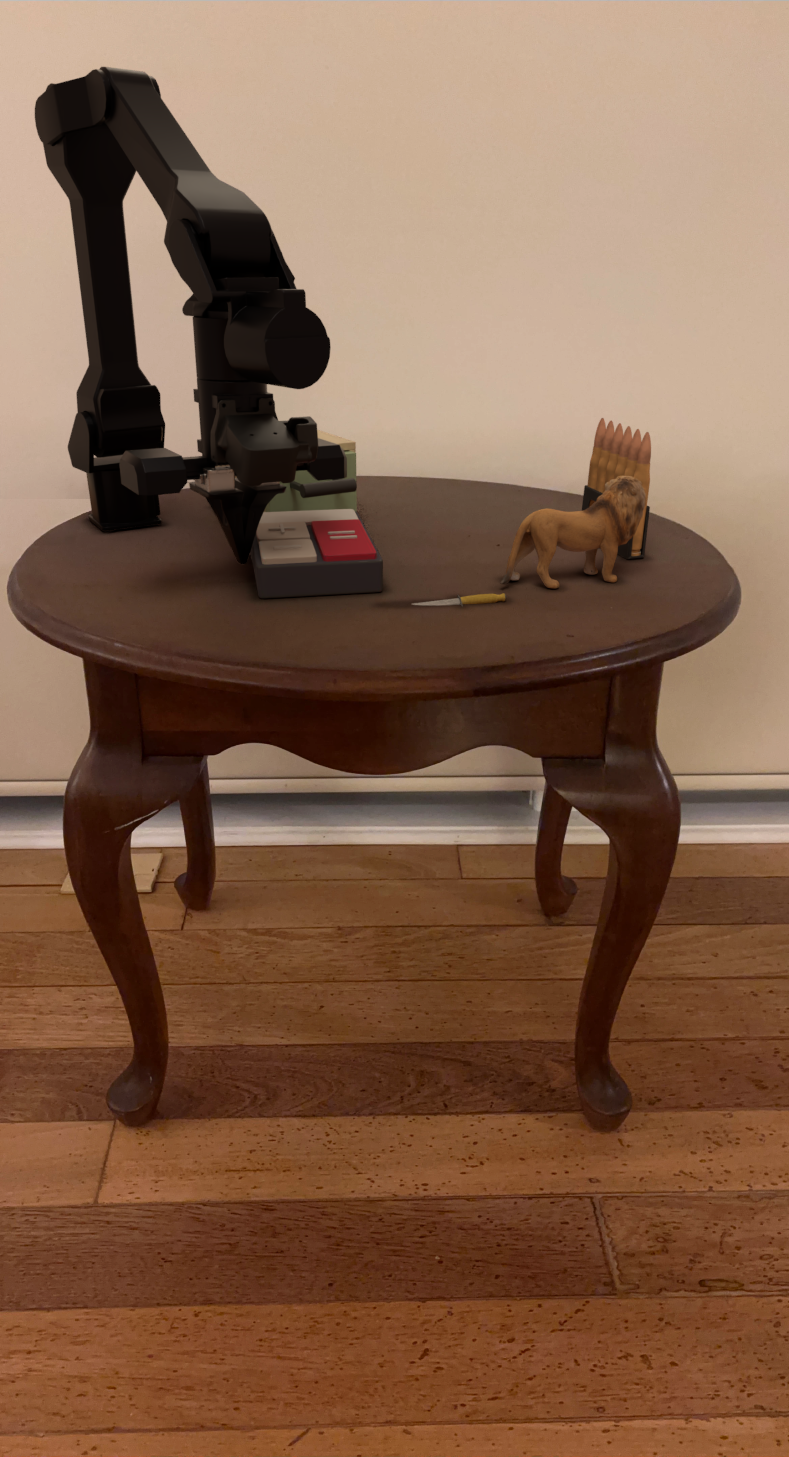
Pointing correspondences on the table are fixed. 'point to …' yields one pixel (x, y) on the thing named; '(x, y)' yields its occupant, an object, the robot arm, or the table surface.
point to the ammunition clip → (620, 474)
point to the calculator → (315, 554)
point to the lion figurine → (581, 531)
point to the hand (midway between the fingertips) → (242, 563)
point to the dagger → (468, 600)
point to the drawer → (318, 492)
